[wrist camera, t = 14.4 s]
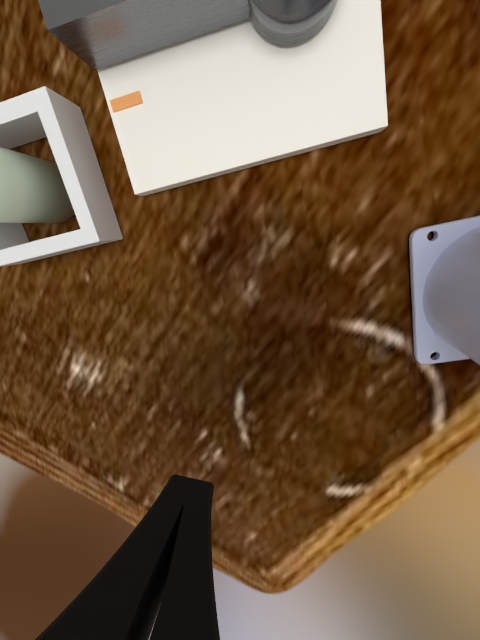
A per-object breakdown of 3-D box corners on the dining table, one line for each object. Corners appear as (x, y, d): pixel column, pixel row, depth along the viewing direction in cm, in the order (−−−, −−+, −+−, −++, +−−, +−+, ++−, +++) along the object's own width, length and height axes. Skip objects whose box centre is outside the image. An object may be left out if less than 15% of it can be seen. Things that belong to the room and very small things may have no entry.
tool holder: (80, 107, 15) (45, 86, 13) (123, 238, 17) (99, 241, 15) (-25, 143, 17) (-75, 129, 14) (26, 262, 19) (-10, 268, 16)
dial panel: (356, -224, 11) (365, -271, 10) (380, 131, 14) (388, 125, 13) (60, -82, 13) (42, -108, 12) (142, 196, 16) (134, 194, 15)
